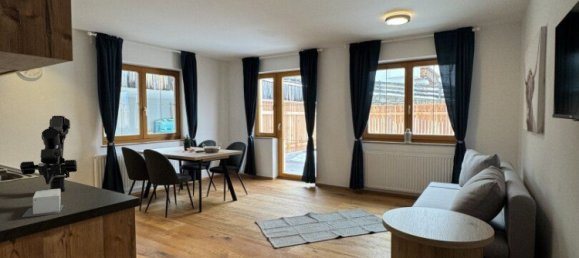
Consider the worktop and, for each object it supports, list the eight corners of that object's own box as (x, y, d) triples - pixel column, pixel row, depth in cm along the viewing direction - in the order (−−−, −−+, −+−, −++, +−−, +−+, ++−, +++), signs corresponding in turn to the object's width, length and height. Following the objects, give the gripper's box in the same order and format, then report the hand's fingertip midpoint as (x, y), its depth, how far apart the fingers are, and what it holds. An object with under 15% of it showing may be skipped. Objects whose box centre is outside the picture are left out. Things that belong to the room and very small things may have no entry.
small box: (36, 206, 127) (32, 214, 116) (36, 190, 127) (32, 197, 116) (61, 203, 132) (59, 211, 121) (61, 188, 131) (59, 195, 121)
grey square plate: (29, 209, 125) (29, 208, 124) (63, 205, 130) (63, 204, 130) (22, 217, 115) (22, 216, 115) (59, 213, 120) (59, 212, 120)
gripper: (20, 142, 128) (13, 174, 119) (76, 141, 137) (73, 170, 128) (25, 158, 135) (19, 190, 126) (78, 156, 144) (75, 186, 135)
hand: (47, 183), depth 129 cm, fingers closed
